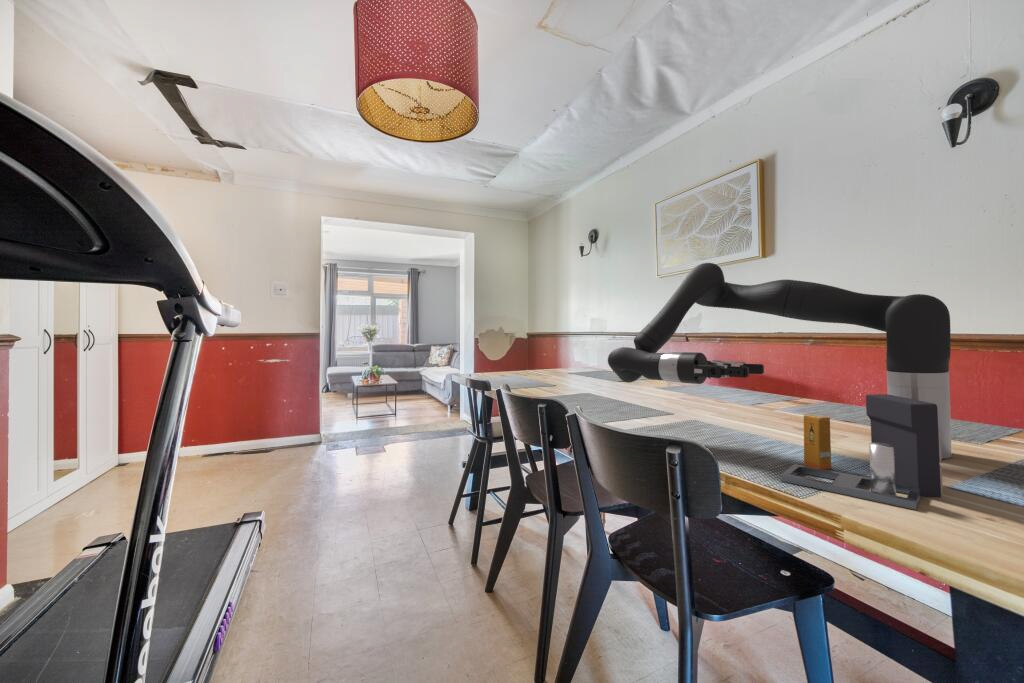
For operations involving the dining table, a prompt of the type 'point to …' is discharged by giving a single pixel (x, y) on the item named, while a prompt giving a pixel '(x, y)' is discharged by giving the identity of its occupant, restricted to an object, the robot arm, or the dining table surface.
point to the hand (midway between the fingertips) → (756, 370)
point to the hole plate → (851, 486)
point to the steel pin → (882, 468)
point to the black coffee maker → (909, 439)
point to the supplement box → (817, 442)
